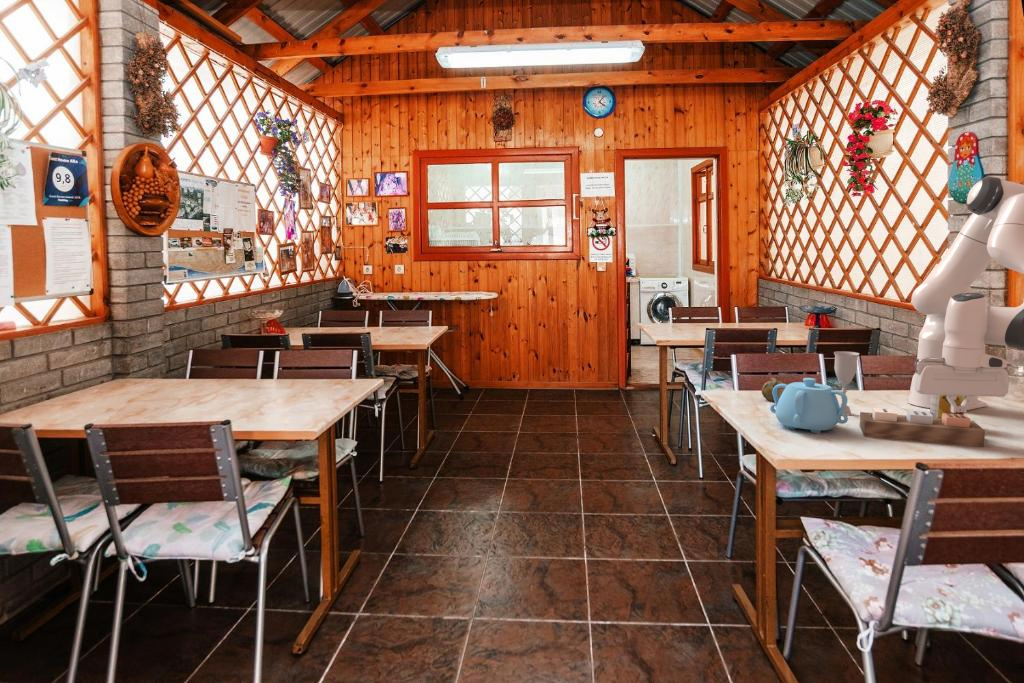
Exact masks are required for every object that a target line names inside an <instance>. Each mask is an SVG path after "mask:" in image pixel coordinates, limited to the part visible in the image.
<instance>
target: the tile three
mask: <svg viewBox="0 0 1024 683" xmlns="http://www.w3.org/2000/svg"><path fill="white" fill-rule="evenodd" d="M970 421H971V418H970V417H969V416H967V415H966V414H964V415H961V414H947V413H942V423H943V424H944V425H945V426H957V427H970Z"/></svg>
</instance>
